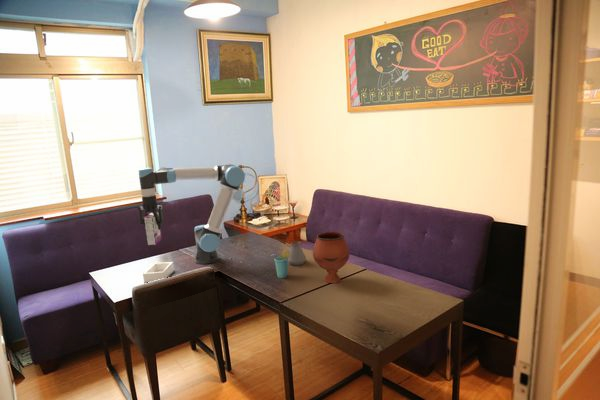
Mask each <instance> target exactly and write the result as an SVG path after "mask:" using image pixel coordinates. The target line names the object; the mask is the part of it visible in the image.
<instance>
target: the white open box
mask: <svg viewBox="0 0 600 400" xmlns="http://www.w3.org/2000/svg"><path fill="white" fill-rule="evenodd" d="M174 272H175V266H174V261H167V262H166V261H165V262H154V263H152V265H150V267H148V268H147V269H146V270H145V271H144V272H143V273H142V276H143V283H144V284H148V283H147V282H150V281H154V280H158V279H162V278H166V277H168V278H170V276H171V275H172V274H173V273H174Z"/></svg>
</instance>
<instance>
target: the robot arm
mask: <svg viewBox="0 0 600 400" xmlns="http://www.w3.org/2000/svg"><path fill="white" fill-rule="evenodd" d="M245 175H246V174H245V172H244V170H243V169H242V168H241V167H240V166H237V165H234V164H222V165H215V166H214V167H212V166H211V167H210V166H209V167H160V168H159V169H158V170H154V169H153V168H152V167H144V168H143V167H142V168H139V170H138V176H139V178H138V179H139V185H140V192H141V193H140V194H141V201H142V202H141V203H142V205H140V206H138V207H137V210H138V212H139V220H140V224H141V225H144V230H145V231H146V228H145V221H144V217H146V216H147V215H149V214H150V213H153V214H154V215H155V219H156V222H157V224H156V228H157V236H159V235H160V229H162V223H164V222H165V219H164V214H163V213H164V212H163V207H164V206H163V205H161V204H160V205H159V204H158V203H157V195H156V193H157V192H156V186H155V185H160V184H161V185H163V184H171V183H176V181H200V180H201V181H203V180H204V181H206V180H207V181H209V180H213V181H214V180H215V181H216V182H219V186H220V189H219V191H218V195H217V197H216V200H215V203H214V205H213V207H212V210H211V212H210V213H211V214H210V216H209V218H208V221H207V224H200V225H196V226H195V227H194V231H193V232H194V239H195V245H196V252H195V257H194V262H195V263H197V264H199V265H200V264H201V265H202V264H203V265H206V264H211V263H212V264H213V263H215V262H218V261H219V259H220V255H219V253H218V252H219V251H218V248H219V246H220V242H221V240H220V239H221V236H222V234H223V232H222V226H223V224H224V221H225V218H226V217H227V213H228V211H229V207H230V206H231V203H232V200H233V197H234V196H235V193H236V192H238V191H239V189H240V187H241V185H242V184H243V183H244V181H245V178H246V176H245ZM157 209H158V211H157ZM157 213H158V214H159V216H158V214H157ZM144 214H145V215H144Z"/></svg>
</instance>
